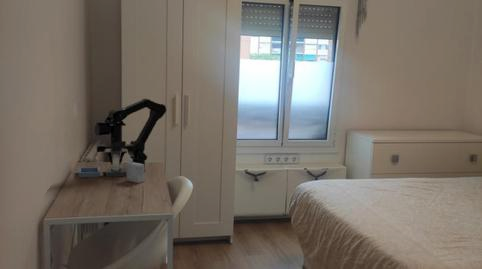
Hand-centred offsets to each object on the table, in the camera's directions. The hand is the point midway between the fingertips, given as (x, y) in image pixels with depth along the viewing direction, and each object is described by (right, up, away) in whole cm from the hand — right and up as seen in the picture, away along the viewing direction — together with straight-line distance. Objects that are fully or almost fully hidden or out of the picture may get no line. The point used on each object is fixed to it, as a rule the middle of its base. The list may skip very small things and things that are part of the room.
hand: (115, 164), depth 227 cm
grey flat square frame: (0, -5, +1) cm, 5 cm away
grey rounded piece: (0, -3, 0) cm, 3 cm away
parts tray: (-12, -5, -4) cm, 14 cm away
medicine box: (+13, -8, -12) cm, 20 cm away
